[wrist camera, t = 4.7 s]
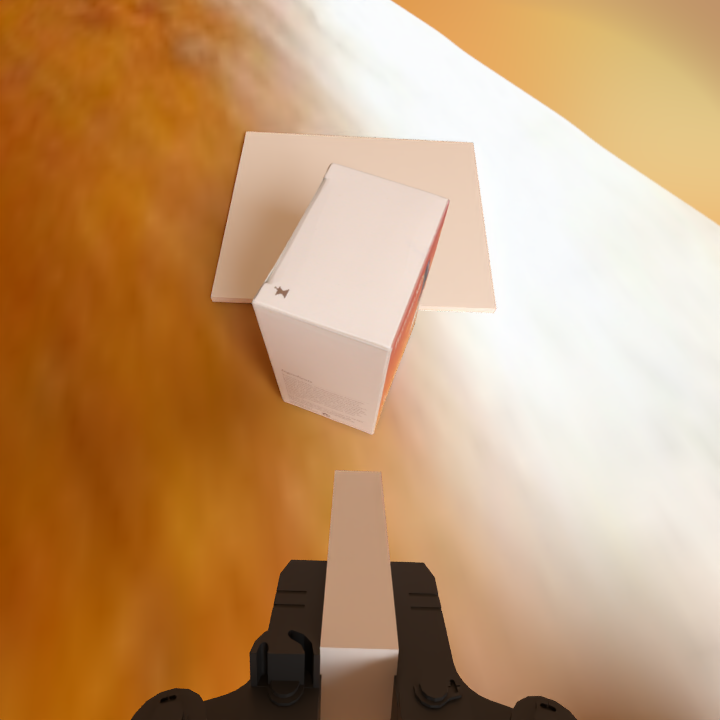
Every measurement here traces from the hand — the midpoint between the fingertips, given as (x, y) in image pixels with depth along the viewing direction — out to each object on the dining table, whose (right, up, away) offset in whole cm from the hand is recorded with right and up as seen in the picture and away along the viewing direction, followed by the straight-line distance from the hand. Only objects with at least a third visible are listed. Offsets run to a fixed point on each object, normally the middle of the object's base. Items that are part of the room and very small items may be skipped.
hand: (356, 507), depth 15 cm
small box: (0, +5, +13) cm, 13 cm away
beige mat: (0, +15, +18) cm, 24 cm away
